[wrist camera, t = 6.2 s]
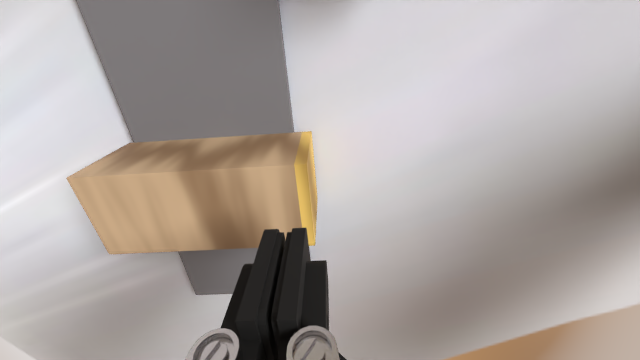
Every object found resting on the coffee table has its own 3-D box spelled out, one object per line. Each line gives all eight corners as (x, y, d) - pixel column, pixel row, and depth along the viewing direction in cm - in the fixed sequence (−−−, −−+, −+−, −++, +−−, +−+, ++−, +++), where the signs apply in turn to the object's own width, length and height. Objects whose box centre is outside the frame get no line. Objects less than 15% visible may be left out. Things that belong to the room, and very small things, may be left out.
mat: (271, -56, 14) (269, -59, 13) (312, 285, 25) (312, 290, 24) (70, -36, 14) (60, -39, 14) (198, 289, 25) (195, 294, 25)
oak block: (306, 164, 13) (66, 178, 14) (315, 245, 15) (109, 254, 16) (311, 131, 18) (129, 142, 18) (317, 198, 20) (156, 206, 20)
